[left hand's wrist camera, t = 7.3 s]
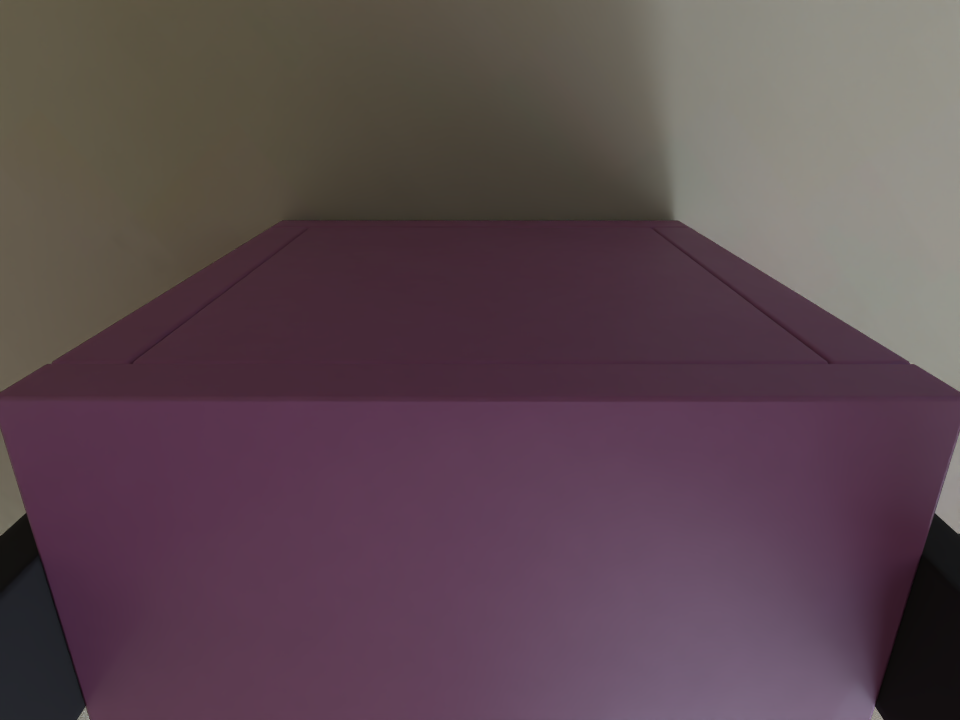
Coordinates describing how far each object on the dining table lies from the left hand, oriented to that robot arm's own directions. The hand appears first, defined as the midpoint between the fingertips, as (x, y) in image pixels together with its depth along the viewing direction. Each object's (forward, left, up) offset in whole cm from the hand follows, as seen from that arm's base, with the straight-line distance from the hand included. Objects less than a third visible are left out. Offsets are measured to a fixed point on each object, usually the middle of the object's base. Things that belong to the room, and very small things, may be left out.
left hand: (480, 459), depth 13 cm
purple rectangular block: (+6, -3, -7) cm, 10 cm away
